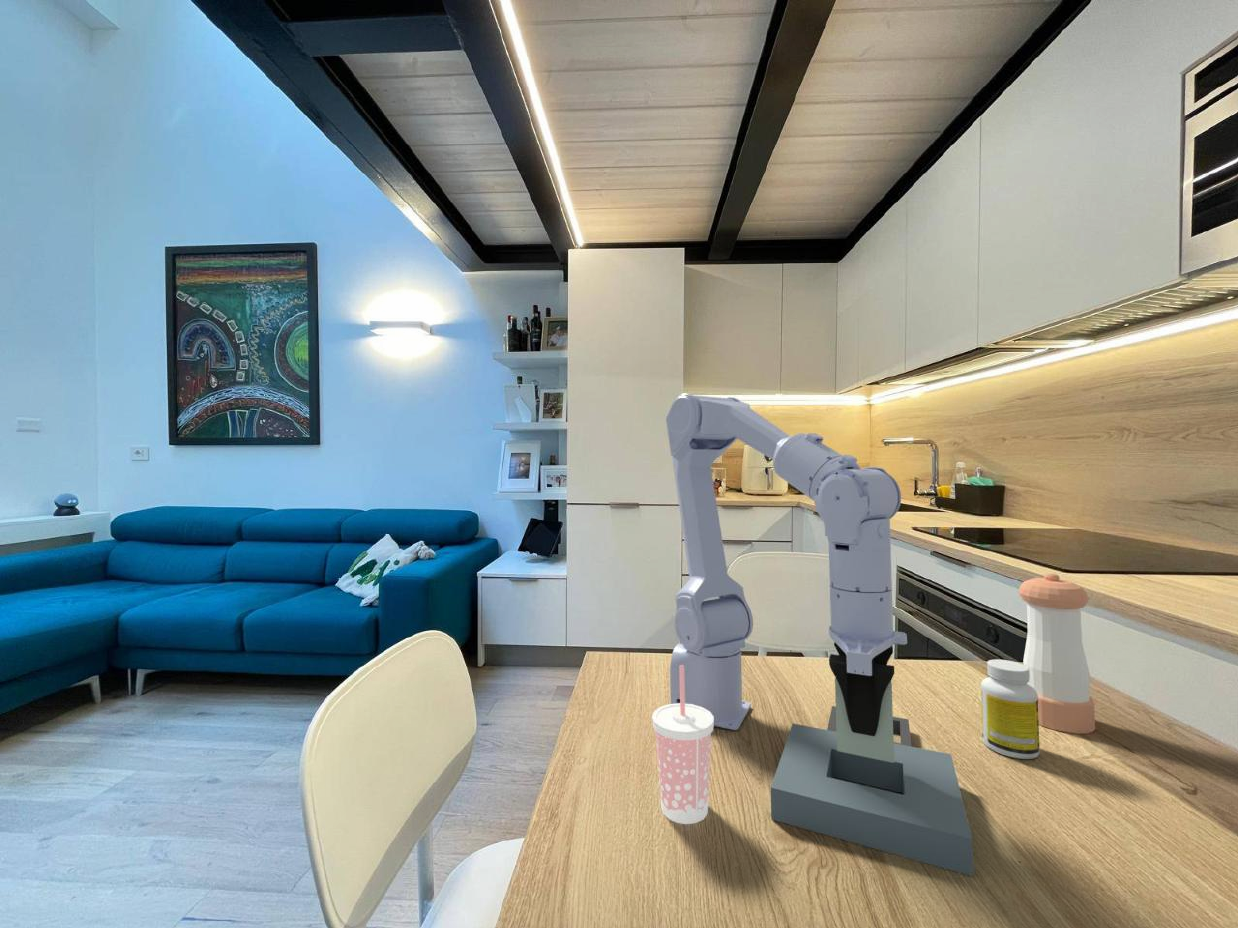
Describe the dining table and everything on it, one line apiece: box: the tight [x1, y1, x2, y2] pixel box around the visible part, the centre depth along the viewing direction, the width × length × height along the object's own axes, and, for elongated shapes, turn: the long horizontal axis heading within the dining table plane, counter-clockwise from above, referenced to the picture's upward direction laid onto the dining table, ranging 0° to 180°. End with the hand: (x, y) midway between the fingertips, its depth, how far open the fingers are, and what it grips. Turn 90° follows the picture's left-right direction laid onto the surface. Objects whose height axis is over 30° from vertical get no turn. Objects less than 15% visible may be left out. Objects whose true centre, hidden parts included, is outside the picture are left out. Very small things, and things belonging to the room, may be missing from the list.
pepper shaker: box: [1018, 572, 1096, 735], centre depth 67 cm, size 7×7×19 cm
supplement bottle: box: [980, 659, 1041, 760], centre depth 61 cm, size 5×5×10 cm
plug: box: [834, 676, 895, 763], centre depth 51 cm, size 5×4×8 cm
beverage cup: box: [651, 665, 715, 825], centre depth 51 cm, size 6×6×14 cm
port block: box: [770, 723, 975, 878], centre depth 51 cm, size 16×14×3 cm
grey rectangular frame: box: [826, 705, 913, 747], centre depth 63 cm, size 9×8×2 cm
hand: (864, 722), depth 51 cm, fingers closed on plug, 4 cm apart
